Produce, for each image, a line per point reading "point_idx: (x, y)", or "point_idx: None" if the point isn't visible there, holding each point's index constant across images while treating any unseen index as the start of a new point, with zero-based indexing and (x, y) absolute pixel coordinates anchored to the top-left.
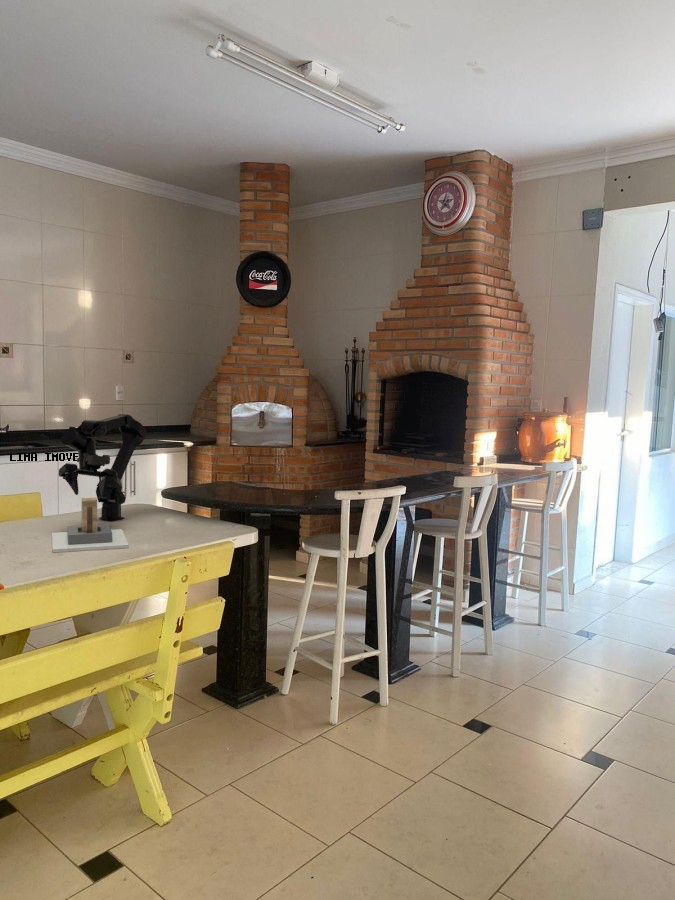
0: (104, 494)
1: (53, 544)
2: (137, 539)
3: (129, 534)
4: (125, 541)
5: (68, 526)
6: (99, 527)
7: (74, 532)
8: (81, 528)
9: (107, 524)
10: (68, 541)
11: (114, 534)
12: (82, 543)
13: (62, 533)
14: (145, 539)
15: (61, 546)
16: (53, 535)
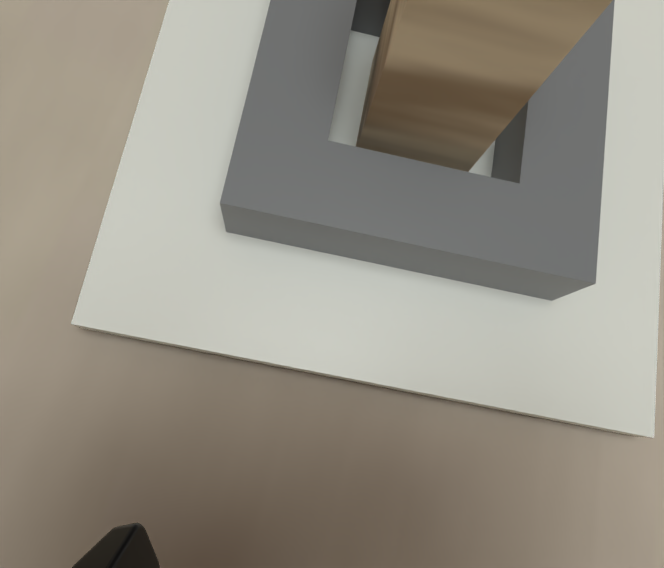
0: (84, 556)
1: (661, 75)
2: (60, 59)
3: (47, 237)
4: None
5: (585, 264)
6: (330, 145)
7: None
8: (482, 179)
9: (238, 191)
10: None
11: (201, 160)
12: None
13: (579, 373)
14: (4, 32)
15: (617, 7)
16: (648, 333)
